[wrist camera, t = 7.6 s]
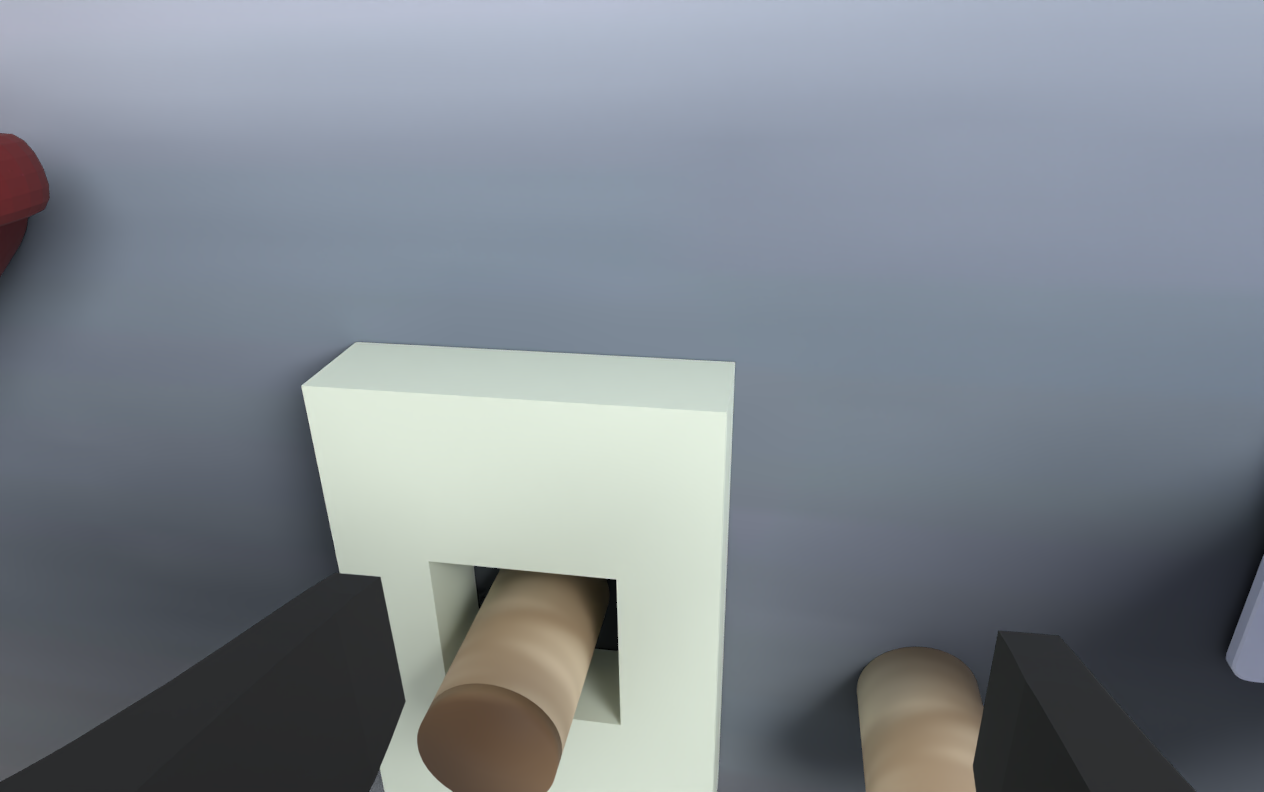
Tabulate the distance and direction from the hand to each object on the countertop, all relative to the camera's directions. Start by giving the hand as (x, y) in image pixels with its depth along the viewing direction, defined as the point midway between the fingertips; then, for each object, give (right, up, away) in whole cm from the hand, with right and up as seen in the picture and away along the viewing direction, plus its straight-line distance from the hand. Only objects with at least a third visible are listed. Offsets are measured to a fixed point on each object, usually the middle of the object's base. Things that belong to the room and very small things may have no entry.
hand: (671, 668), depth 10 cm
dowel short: (+7, -4, +12) cm, 14 cm away
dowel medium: (-3, -2, +12) cm, 13 cm away
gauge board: (-2, -2, +12) cm, 13 cm away
